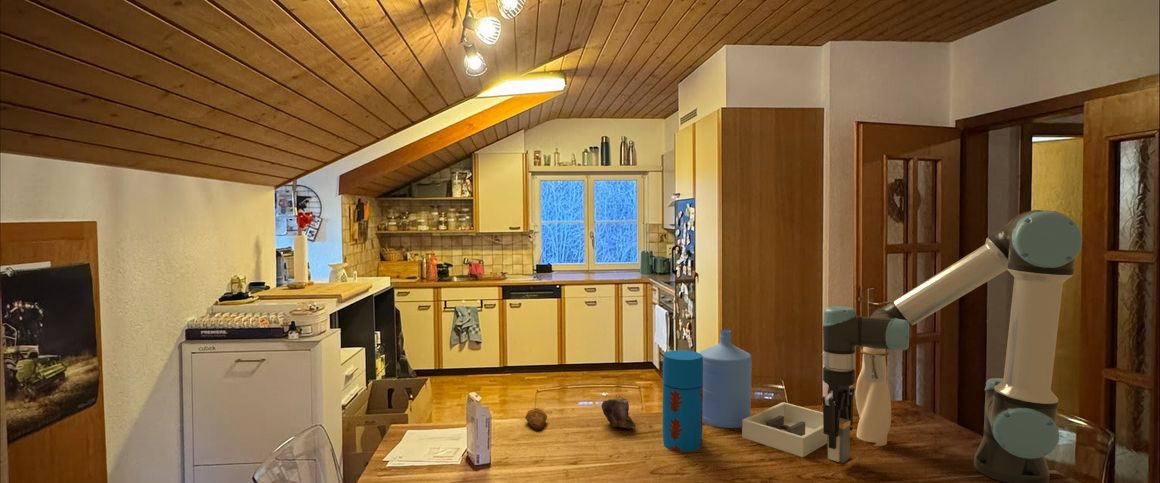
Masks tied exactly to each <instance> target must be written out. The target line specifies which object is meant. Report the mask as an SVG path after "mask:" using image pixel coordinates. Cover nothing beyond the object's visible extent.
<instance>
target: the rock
mask: <svg viewBox="0 0 1160 483" xmlns="http://www.w3.org/2000/svg"><path fill="white" fill-rule="evenodd" d="M601 409H602V413H603V415H604V416H605V418H606V419H607V421H608V422H609V424H610V426H611V427H613V428H617V427H618V428H619V427H620V428H624V429H628V430H629V429H632V428H636V423H635V422H634V421H633V419H632V418H631V416H630V414H629V411H630V405H629V400H628V399H627V398H612V399H607V400H604V401H602V403H601Z"/></svg>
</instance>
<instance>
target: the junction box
mask: <svg viewBox="0 0 1160 483" xmlns="http://www.w3.org/2000/svg"><path fill="white" fill-rule="evenodd" d="M779 415H781V416H784V425H787V426H790V427H791V426H793V425H795V424H797V423H799V422H801V421H803V422H805V435H803V436H799V435H796V434H793V433H789V432H787V430H783V429H781V430H779V429H776V428H773V427H769V426H766V421H769V420H771V419H773V418H775V417H777V416H779ZM741 429H742V431H741V437H742V439H746V440H749V441H751V442H755V443H757V444H761V445H764V446H767V447H770V448H773V449H776V450H778V451H779V450H780V451H782V452H785V453H788V454H791V455H794V456H797V457H800V458H804V457H806V456H808V455H810V454H812V452H815V451H816V450H818V449H820V448H821V447H823V446H825V445H827V435H826V434H824V433H823V411H818V410H816V409H815V410H814V409H810V408H807V407H804V406H803V407H802V406H799V405H795V404H792V403H788V402H784V401H782V402H780V403H778V404H776V405H774V406H771V407H769V408H766V409H764V410H762V411H759V412H757V413H755V414H753V415H752V414H751V416H750V417H748V418H745V419H743V420H742V427H741Z"/></svg>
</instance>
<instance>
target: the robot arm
mask: <svg viewBox="0 0 1160 483" xmlns="http://www.w3.org/2000/svg"><path fill="white" fill-rule="evenodd" d="M1082 246H1083V235H1082V231H1081V229H1080V227H1079V226H1078V224H1077V223H1076V222H1075V221H1074V220H1072V218H1070V217H1069V216H1067V215H1065V214H1064V213H1060V212H1058V211H1054V210H1041V209H1039V210H1038V209H1035V210H1028V211H1025V212H1022V213H1020V214H1018V215H1017V216H1015V217H1013V218H1012V219H1011V220H1010V221H1009V222H1008V223H1006V224H1005V225H1004V226H1002V227H1001V228H999V229H998V230H997V231H995V232H994V233H993V234H991V235H990V236H988V237H987V238H986V239H985V243H984V244H983V245H982V246H979V248H976V250H974V251H972V252H971V253H968V254H967V255H965V256H964V257H962V258H961V259H959V260H958V261H956V262H954V263H952V264H951V265H949V266H947V267H946V268H944V269H943V270H942V271H940V272H938V273H937V274H935V275H933V276H932V277H930V278H929V279H926V280H925V281H923V282H922V283H921V284H919V285H918V286H916V287H914V288H913V289H910V290H909V291H908V292H905V294H903V295H902V296H899V297H897V298H896V299H895V300H893V301H892V302H890V303H888V304H887V305H885V306H883V307H881V308H880V307H879V308H878V309H876V310H875V311H873V312H872V314H871V315H870V316H860V315H857V313H856V310H855V308H854V307H850V306H843V305H841V306H840V305H833V306H828V307H826V308H825V309H824V310H823V323H822V347H823V348H822V350H823V352H822V353H821V355H822V365H823V366H824V367H823V368H822V380H823V382H824V383H825V384H827V385H828V387H827V396H822V397H821V402H822V412H823V433H824V434H826V435H828V458H827V459H828V460H831V461H834V462H838V463H840V462H839V461H840V436H838V431H839V421H840V418H843V419H847V420H850V432H852V431H853V427H852V426H853V423H854V397H855V391H856V388H854V387H852V386H853V385H855V384H856V383H855V382H856V370H855V368H856V347H861V348H863V347H870V348H880V349H885V350H890V351H906V350H908V349H909V347H910V344H909V343H910V328H911V327H912V326H914V325H915V324H917V323H919V322H921V321H922V320H924V319H926V318H927V317H929V316H931V315H932V314H935V313H936V312H938V311H939V310H941V309H943V308H944V307H946V306H948V305H949V304H951V303H953V302H954V301H956V300H958V299H960V298H961V297H963V296H965V295H967V294H968V293H970V292H972V291H974V290H976V289H977V288H978V287H980V286H982V285H983V284H986V283H987V282H989V281H990V280H992V279H994V278H997V276H999V275H1000V274H1003V273H1004V272H1006V271H1008V273H1010V274H1011V275H1012V276H1013V278H1014V280H1013V287H1012V288H1013V289H1012V295H1011V297H1012V298H1011V307H1010V315H1009V324H1008V326H1009V328H1008V333H1007V341H1006V342H1007V345H1006V352H1005V353H1006V354H1005V363H1004V371H1003V372H1004V373H1003V378H999V377H994V378H989V379H987V380H986V382H985V388H984V391H985V395H984V396H985V397H984V399H985V400H984V401H985V402H984V419H983V420H984V421H983V422H984V423H983V437H982V439H981V442H980V444H979V446H978V448H977V450H976V452H975V454H974V457H973V458H974V459H973V467H974V468H975V470H976V471H977V472H979V473H980V474H982V475H984V476H985V477H987V478H991V479H993V480H996V481H997V482H998V481H999V482H1002V483H1050V469H1049V466H1048V463H1047V461H1046V457H1045V456H1047V455H1049V454H1051V453H1052V452H1053V451H1054V450H1055V449H1056V447H1057V446H1058V444H1059V441H1060V433H1059V432H1060V430H1059V428H1058V425H1057V416H1058V409H1059V408H1058V407H1059V397H1057V396H1056V394H1054V392H1053V391H1052V381H1053V373H1054V366H1055V365H1054V364H1055V356H1056V346H1057V338H1058V328H1059V321H1060V320H1059V319H1060V312H1061V303H1062V294H1063V289H1064V288H1063V287H1064V283H1065V282H1066V281H1067V280H1069V279H1070V278H1072V277H1073V276H1074V270H1075V262H1076V257H1077V256H1079V255H1078V254H1080V251H1081V249H1082Z"/></svg>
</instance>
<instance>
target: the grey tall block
mask: <svg viewBox="0 0 1160 483" xmlns="http://www.w3.org/2000/svg"><path fill="white" fill-rule="evenodd" d="M850 427H851V426H850V420H847V419H843V418H840V421H839V431H838V436H840V461H839V462H838V463H840V464H844V463H846V462H847V461H848V460H850V458H851V455H850V454H851V448H850V447H851V446H850V444H851V431H850ZM826 445H827V447H826V448H827V452H826V453H827V454H826V456H827V459H828V435H827V444H826Z"/></svg>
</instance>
